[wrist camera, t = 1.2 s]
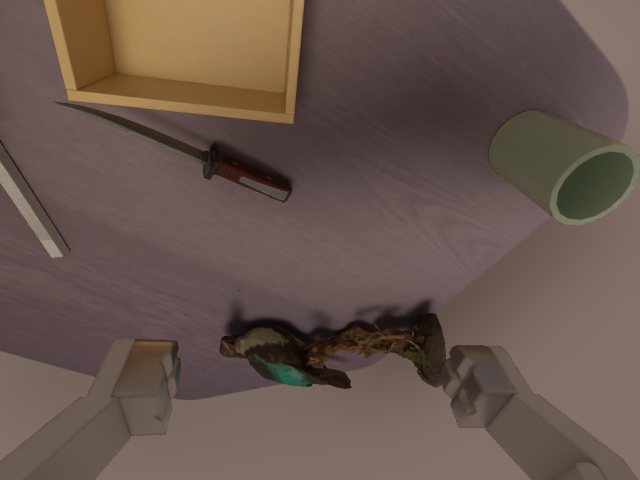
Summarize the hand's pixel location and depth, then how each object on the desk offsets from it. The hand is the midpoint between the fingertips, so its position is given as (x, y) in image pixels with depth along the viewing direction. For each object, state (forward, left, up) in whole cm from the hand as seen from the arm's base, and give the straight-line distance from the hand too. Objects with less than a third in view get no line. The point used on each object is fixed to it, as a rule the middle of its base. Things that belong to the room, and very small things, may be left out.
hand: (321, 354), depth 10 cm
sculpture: (+22, +19, -18) cm, 34 cm away
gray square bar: (+8, -22, -22) cm, 32 cm away
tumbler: (0, +21, -23) cm, 31 cm away
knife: (+2, -8, -23) cm, 24 cm away
